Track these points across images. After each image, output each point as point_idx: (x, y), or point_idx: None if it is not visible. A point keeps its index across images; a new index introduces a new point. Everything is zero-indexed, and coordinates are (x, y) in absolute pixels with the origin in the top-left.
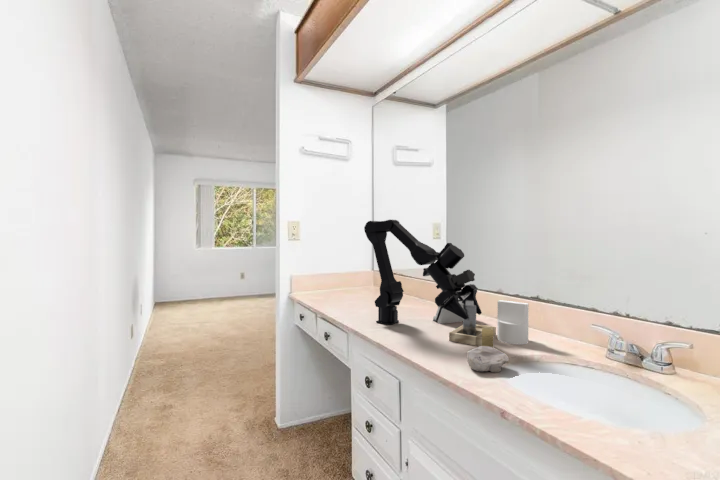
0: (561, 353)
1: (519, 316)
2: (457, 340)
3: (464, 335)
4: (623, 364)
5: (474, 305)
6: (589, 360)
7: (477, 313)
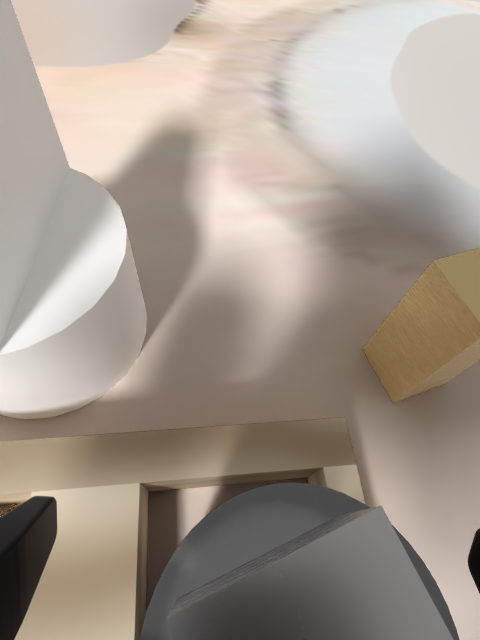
0: (173, 142)
1: (39, 147)
2: None
3: None
4: (180, 39)
5: (256, 532)
6: (201, 87)
7: (42, 570)
